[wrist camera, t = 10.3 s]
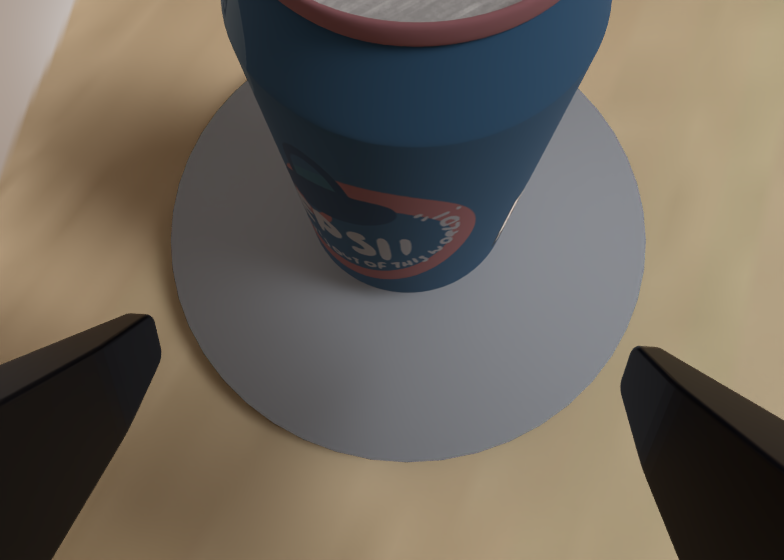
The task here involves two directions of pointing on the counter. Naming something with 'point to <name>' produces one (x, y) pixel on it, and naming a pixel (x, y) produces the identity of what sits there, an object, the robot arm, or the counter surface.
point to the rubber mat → (407, 299)
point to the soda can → (413, 118)
